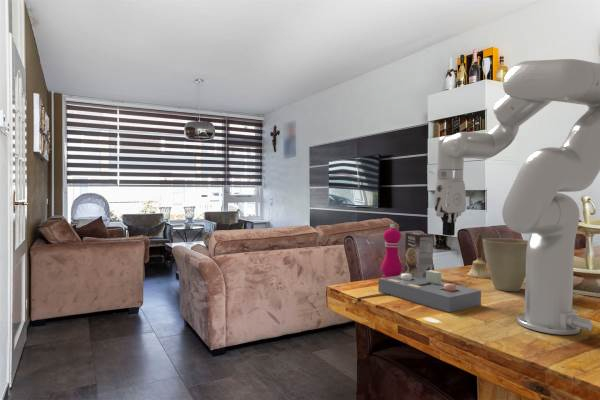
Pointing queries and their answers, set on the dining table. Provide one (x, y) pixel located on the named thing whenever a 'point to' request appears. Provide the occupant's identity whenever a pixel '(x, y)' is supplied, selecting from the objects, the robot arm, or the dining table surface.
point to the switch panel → (430, 293)
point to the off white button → (406, 277)
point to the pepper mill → (391, 253)
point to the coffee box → (418, 253)
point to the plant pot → (506, 262)
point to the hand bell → (479, 262)
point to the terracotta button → (449, 287)
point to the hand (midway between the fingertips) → (448, 235)
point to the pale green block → (433, 277)
